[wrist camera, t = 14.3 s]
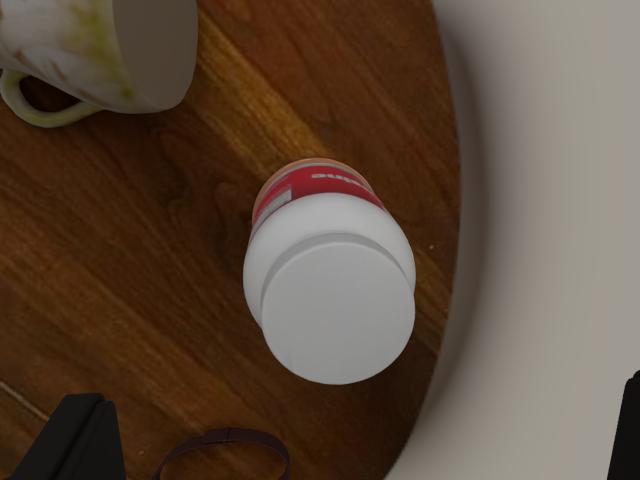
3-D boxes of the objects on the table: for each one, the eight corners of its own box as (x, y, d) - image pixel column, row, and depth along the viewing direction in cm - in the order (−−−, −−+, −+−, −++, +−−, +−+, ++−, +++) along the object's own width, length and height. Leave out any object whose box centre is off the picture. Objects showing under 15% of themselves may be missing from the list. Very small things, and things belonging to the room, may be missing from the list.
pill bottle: (404, 217, 27) (482, 309, 16) (321, 303, 28) (344, 441, 17) (312, 132, 25) (332, 173, 15) (228, 226, 26) (191, 327, 16)
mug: (-60, -65, 23) (-86, -217, 14) (169, 1, 28) (249, -82, 19) (-69, 113, 23) (-101, 67, 14) (159, 145, 28) (234, 125, 20)
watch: (169, 502, 32) (154, 554, 28) (147, 436, 30) (129, 482, 27) (297, 477, 32) (299, 526, 28) (281, 409, 30) (281, 453, 27)
